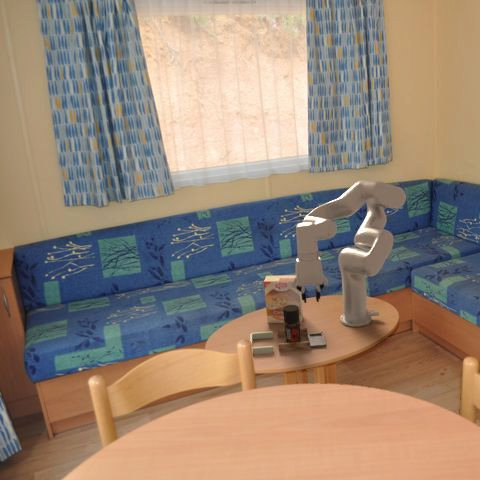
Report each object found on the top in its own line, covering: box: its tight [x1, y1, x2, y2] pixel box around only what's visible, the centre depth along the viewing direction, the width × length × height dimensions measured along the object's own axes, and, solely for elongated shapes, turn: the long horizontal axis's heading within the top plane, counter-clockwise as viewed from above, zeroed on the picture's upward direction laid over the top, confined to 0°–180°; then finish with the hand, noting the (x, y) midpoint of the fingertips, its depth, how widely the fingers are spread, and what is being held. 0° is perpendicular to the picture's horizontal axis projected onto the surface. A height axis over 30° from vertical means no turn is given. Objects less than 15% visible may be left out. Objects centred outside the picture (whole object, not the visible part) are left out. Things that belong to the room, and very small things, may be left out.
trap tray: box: [307, 331, 327, 349], centre depth 180 cm, size 6×10×1 cm, turn 177°
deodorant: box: [283, 305, 302, 343], centre depth 179 cm, size 6×6×15 cm
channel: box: [276, 327, 312, 352], centre depth 181 cm, size 12×12×3 cm
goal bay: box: [249, 330, 275, 355], centre depth 182 cm, size 9×13×2 cm
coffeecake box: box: [263, 274, 304, 324], centre depth 199 cm, size 15×7×20 cm, turn 77°
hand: (311, 300), depth 176 cm, fingers open, 4 cm apart
